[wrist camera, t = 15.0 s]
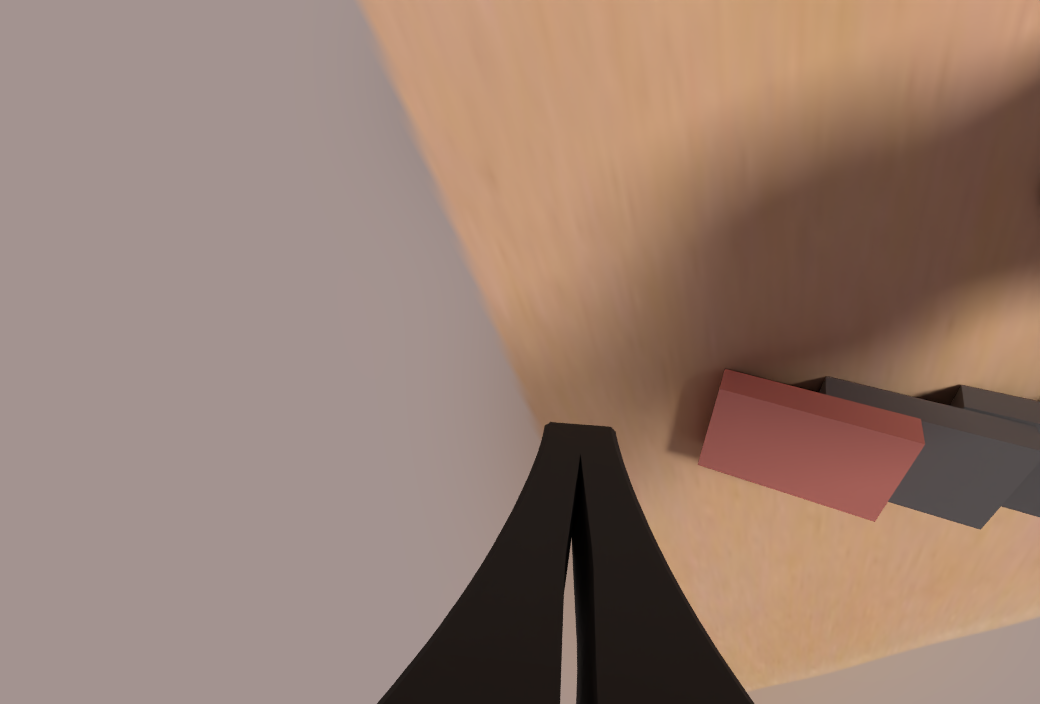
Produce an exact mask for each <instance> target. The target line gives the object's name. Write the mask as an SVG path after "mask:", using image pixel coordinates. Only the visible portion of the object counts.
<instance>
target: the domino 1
mask: <svg viewBox="0 0 1040 704" xmlns="http://www.w3.org/2000/svg"><path fill="white" fill-rule="evenodd" d="M819 393H822V394H826V395H829V396H833V397H837V398H841V399H845V400H849V401H853V402H857V403H861V404H865V405H868V406H872V407H876V408H880V409H884V410H888V411H892V412H896V413H900V414H904V415H907V416H911V417H915V418H919V419H921V423H922V429H923V434H924V440H925V445H924V447H923V448H922V450H921V451H920V453H919V455H918V456H917V458H916V459H915V461H914V462H913V464H912V465H911V467H910V468H909V470H908V471H907V473H906V475H905V476H904V478H903V479H902V481H901V482H900V484H899V485H898V487H897V488H896V490H895V491H894V493H893V495H892V496H891V498H890V499H889V501H888V502H891V503H894V504H897V505H901V506H904V507H907V508H911V509H914V510H917V511H921V512H924V513H927V514H931V515H934V516H937V517H941V518H944V519H947V520H951V521H954V522H957V523H961V524H964V525H967V526H970V527H974V528H977V529H980V530H981V528H982V527H983V526H984V525H985V524H986V523H987V522H988V520H989V519H990V518H991V517H992V516H993V515H994V514H995V512H996V511H997V510H998V509H999V508H1000V507H1001V505H1002V504H1003V503H1004V502H1005V501H1006V500H1007V499H1008V497H1009V496H1010V495H1011V494H1012V493H1013V492H1014V491H1015V489H1016V488H1017V487H1018V486H1019V485H1020V484H1021V482H1022V481H1023V480H1024V479H1025V478H1026V477H1027V476H1028V474H1029V473H1030V472H1031V471H1032V470H1033V469H1034V467H1035V466H1036V465H1037V464H1038V463H1039V462H1040V434H1039V432H1038V430H1037V427H1036V426H1032V425H1028V424H1024V423H1020V422H1016V421H1012V420H1007V419H1003V418H999V417H995V416H991V415H986V414H982V413H978V412H974V411H970V410H966V409H961V408H957V407H953V406H949V405H945V404H941V403H936V402H932V401H928V400H924V399H920V398H915V397H911V396H907V395H903V394H899V393H895V392H890V391H886V390H882V389H878V388H874V387H870V386H865V385H861V384H857V383H853V382H849V381H844V380H840V379H836V378H832V377H826V378H825V380H824V382H823V385H822V387H821V389H820V391H819Z"/></svg>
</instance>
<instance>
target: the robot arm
mask: <svg viewBox="0 0 1040 704" xmlns="http://www.w3.org/2000/svg"><path fill="white" fill-rule="evenodd" d="M571 538H572V552H573V553H572V554H573V575H574V595H575V613H576V635H577V698H576V704H754V702H753V701H752V700H751V698H750V697H749V695H748V694H747V692H746V691H745V689H744V688H743V686H742V685H741V684H740V682H739V681H738V679H737V678H736V676H735V675H734V673H733V672H732V670H731V669H730V667H729V666H728V665H727V663H726V662H725V660H724V659H723V657H722V656H721V654H720V653H719V651H718V650H717V648H716V647H715V645H714V643H713V642H712V640H711V639H710V637H709V635H708V634H707V632H706V630H705V629H704V627H703V626H702V624H701V622H700V621H699V619H698V618H697V616H696V614H695V612H694V611H693V609H692V607H691V606H690V604H689V602H688V600H687V599H686V597H685V595H684V594H683V592H682V590H681V588H680V586H679V585H678V583H677V581H676V579H675V577H674V575H673V573H672V572H671V570H670V568H669V566H668V564H667V562H666V560H665V558H664V556H663V554H662V552H661V550H660V548H659V546H658V544H657V542H656V540H655V538H654V536H653V533H652V531H651V529H650V527H649V525H648V523H647V520H646V518H645V516H644V513H643V511H642V509H641V506H640V504H639V502H638V499H637V497H636V495H635V492H634V490H633V487H632V484H631V482H630V479H629V476H628V473H627V471H626V468H625V465H624V462H623V459H622V456H621V452H620V449H619V445H618V441H617V437H616V432H615V431H614V430H613V429H612V428H611V427H605V426H592V425H579V424H567V423H554V422H550V423H549V424H547V425H545V428H544V433H543V437H542V441H541V444H540V447H539V451H538V454H537V456H536V459H535V461H534V464H533V466H532V469H531V471H530V474H529V476H528V479H527V481H526V483H525V485H524V487H523V490H522V491H521V494H520V496H519V498H518V500H517V502H516V504H515V506H514V508H513V510H512V512H511V514H510V516H509V517H508V519H507V521H506V523H505V525H504V527H503V529H502V530H501V532H500V534H499V536H498V537H497V539H496V542H495V543H494V545H493V546H492V548H491V550H490V551H489V553H488V555H487V556H486V558H485V560H484V562H483V563H482V565H481V566H480V568H479V569H478V571H477V572H476V574H475V575H474V577H473V579H472V580H471V582H470V583H469V585H468V586H467V588H466V589H465V591H464V592H463V594H462V595H461V597H460V598H459V600H458V601H457V602H456V604H455V605H454V606H453V608H452V609H451V611H450V612H449V613H448V615H447V616H446V618H445V619H444V620H443V622H442V623H441V625H440V626H439V627H438V629H437V630H436V631H435V633H434V634H433V636H432V637H431V638H430V639H429V641H428V642H427V643H426V644H425V646H424V647H423V648H422V649H421V651H420V652H419V653H418V654H417V656H416V657H415V658H414V660H413V661H412V662H411V663H410V664H409V665H408V667H407V668H406V669H405V670H404V672H403V673H402V674H401V675H400V677H399V678H398V679H397V680H396V682H395V683H394V684H393V685H392V686H391V688H390V689H389V690H388V691H387V693H386V694H385V695H384V696H383V697H382V698H381V700H380V701H379V702H378V703H377V704H560V687H561V686H560V685H561V656H562V626H563V599H564V588H565V582H566V574H567V567H568V559H569V552H570V545H571Z"/></svg>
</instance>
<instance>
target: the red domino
mask: <svg viewBox="0 0 1040 704" xmlns="http://www.w3.org/2000/svg"><path fill="white" fill-rule="evenodd" d="M924 445H925V440H924V434H923V429H922V423H921V419H919V418H915V417H911V416H907V415H904V414H900V413H896V412H892V411H888V410H884V409H880V408H876V407H872V406H868V405H865V404H861V403H857V402H853V401H849V400H845V399H841V398H837V397H833V396H829V395H826V394H822V393H818V392H814V391H810V390H806V389H802V388H798V387H794V386H790V385H787V384H783V383H779V382H775V381H771V380H767V379H763V378H759V377H755V376H751V375H748V374H744V373H740V372H736V371H732V370H728V369H725V371H724V374H723V378H722V381H721V385H720V388H719V392H718V395H717V398H716V402H715V405H714V409H713V412H712V416H711V419H710V423H709V426H708V430H707V433H706V437H705V440H704V444H703V447H702V451H701V455H700V458H699V462H698V465H700V466H704V467H707V468H710V469H713V470H716V471H719V472H722V473H725V474H728V475H731V476H735V477H738V478H741V479H744V480H747V481H750V482H753V483H756V484H759V485H762V486H766V487H769V488H772V489H775V490H778V491H781V492H784V493H787V494H790V495H793V496H797V497H800V498H803V499H806V500H809V501H812V502H815V503H818V504H821V505H824V506H828V507H831V508H834V509H837V510H840V511H843V512H846V513H849V514H852V515H855V516H859V517H862V518H865V519H868V520H871V521H874V522H875V521H876V519H877V518H878V516H879V514H880V513H881V511H882V510H883V508H884V507H885V505H886V504H887V502H888V501H889V499H890V498H891V496H892V495H893V493H894V491H895V490H896V488H897V487H898V485H899V484H900V482H901V481H902V479H903V478H904V476H905V475H906V473H907V471H908V470H909V468H910V467H911V465H912V464H913V462H914V461H915V459H916V458H917V456H918V455H919V453H920V451H921V450H922V448H923V447H924Z"/></svg>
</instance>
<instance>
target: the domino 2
mask: <svg viewBox="0 0 1040 704" xmlns="http://www.w3.org/2000/svg"><path fill="white" fill-rule="evenodd" d="M950 406H953V407H957V408H961V409H966V410H970V411H974V412H978V413H982V414H986V415H991V416H995V417H999V418H1003V419H1007V420H1012V421H1016V422H1020V423H1024V424H1028V425H1032V426H1036V427H1037V430H1038V432H1039V434H1040V402H1039V401H1035V400H1030V399H1025V398H1021V397H1016V396H1011V395H1007V394H1002V393H997V392H993V391H988V390H983V389H979V388H974V387H969V386H965V385H961V386H960V388H959V390H958V392H957V394H956V396H955V397H954V399H953V401H952V403H951V405H950ZM1001 506H1002V507H1006V508H1009V509H1013V510H1016V511H1020V512H1023V513H1027V514H1030V515H1034V516H1037V517H1040V462H1039V463H1038V464H1037V465H1036V466H1035V467H1034V469H1033V470H1032V471H1031V472H1030V473H1029V474H1028V476H1027V477H1026V478H1025V479H1024V480H1023V481H1022V482H1021V484H1020V485H1019V486H1018V487H1017V488H1016V489H1015V491H1014V492H1013V493H1012V494H1011V495H1010V496H1009V497H1008V499H1007V500H1006V501H1005V502H1004V503H1003V504H1002V505H1001Z"/></svg>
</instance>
